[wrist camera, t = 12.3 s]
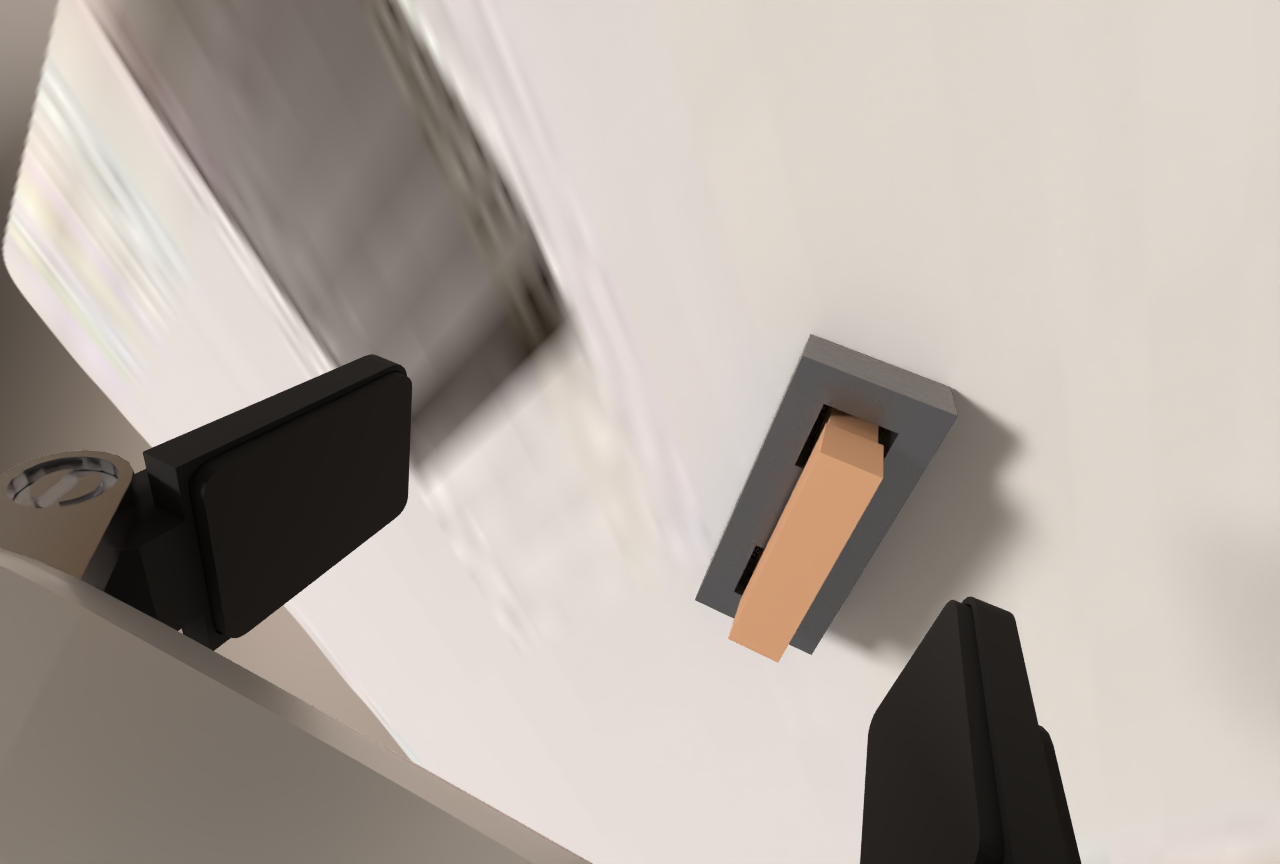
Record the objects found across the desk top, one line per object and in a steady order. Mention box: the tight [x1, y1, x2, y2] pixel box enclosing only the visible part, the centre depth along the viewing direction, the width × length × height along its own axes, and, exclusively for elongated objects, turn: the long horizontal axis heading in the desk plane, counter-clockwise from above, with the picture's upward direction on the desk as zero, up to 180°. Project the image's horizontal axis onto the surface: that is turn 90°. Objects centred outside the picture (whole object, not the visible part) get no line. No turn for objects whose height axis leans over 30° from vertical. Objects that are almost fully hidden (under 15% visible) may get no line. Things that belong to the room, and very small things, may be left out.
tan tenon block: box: [728, 406, 884, 662], centre depth 36 cm, size 3×13×8 cm, turn 164°
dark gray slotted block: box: [695, 334, 958, 655], centre depth 38 cm, size 8×18×4 cm, turn 163°
